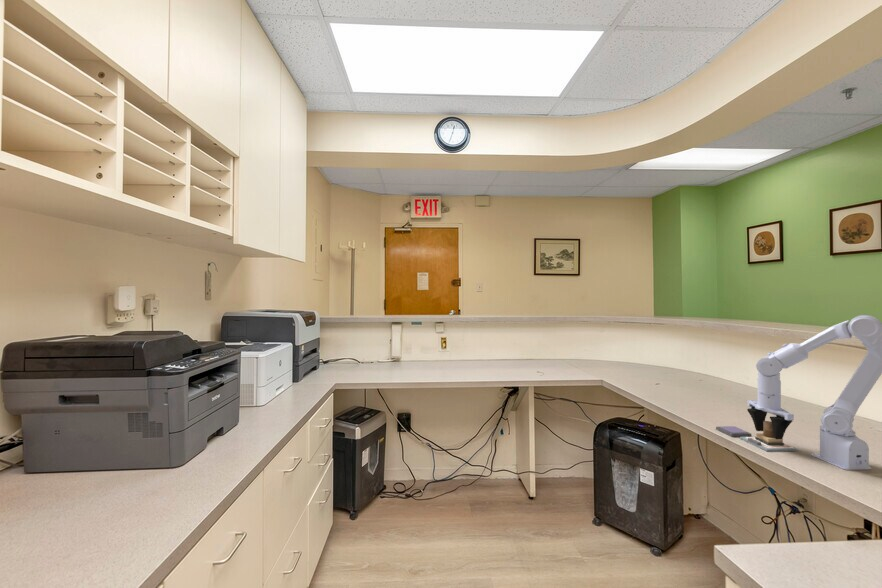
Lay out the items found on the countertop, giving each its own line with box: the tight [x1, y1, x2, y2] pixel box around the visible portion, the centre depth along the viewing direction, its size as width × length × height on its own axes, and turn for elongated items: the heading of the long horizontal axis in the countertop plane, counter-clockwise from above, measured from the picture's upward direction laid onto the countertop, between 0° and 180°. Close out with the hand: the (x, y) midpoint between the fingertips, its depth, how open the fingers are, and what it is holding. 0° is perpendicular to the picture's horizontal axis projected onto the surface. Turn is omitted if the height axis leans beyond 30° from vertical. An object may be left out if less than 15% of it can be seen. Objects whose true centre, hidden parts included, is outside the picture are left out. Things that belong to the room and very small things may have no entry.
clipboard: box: [739, 436, 798, 452], centre depth 121 cm, size 10×10×1 cm
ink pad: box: [715, 425, 752, 438], centre depth 131 cm, size 7×7×1 cm
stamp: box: [754, 420, 785, 446], centre depth 121 cm, size 5×5×6 cm
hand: (768, 434), depth 121 cm, fingers open, 6 cm apart
